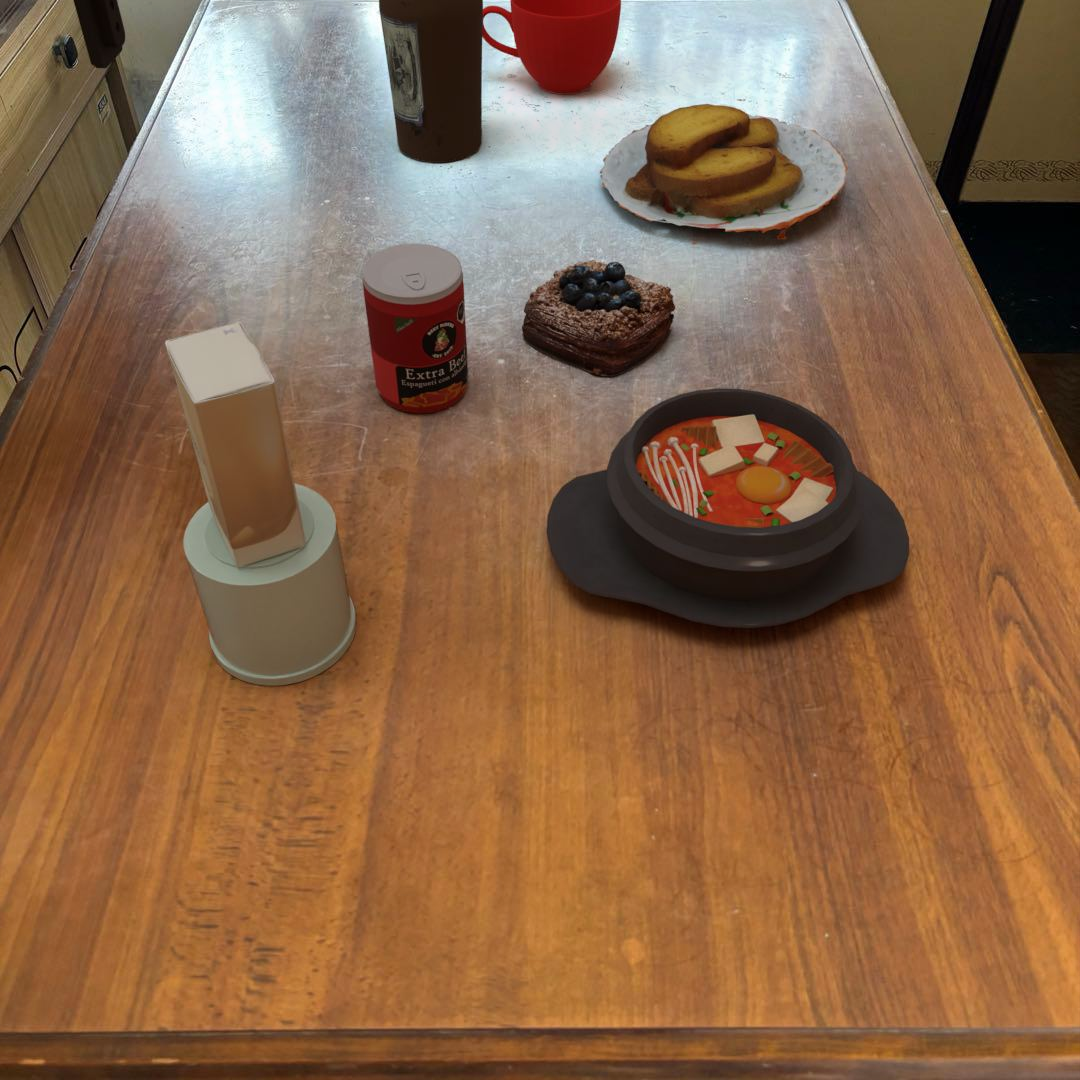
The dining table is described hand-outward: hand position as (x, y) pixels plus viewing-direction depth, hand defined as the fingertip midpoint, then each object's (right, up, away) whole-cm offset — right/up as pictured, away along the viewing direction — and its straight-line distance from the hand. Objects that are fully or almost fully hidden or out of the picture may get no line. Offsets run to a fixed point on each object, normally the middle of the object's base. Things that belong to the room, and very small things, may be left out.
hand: (26, 56), depth 63 cm
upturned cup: (+13, -34, +9) cm, 37 cm away
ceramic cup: (+31, +28, +73) cm, 84 cm away
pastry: (+34, -10, +34) cm, 49 cm away
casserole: (+42, -28, +15) cm, 53 cm away
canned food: (+20, -15, +28) cm, 38 cm away
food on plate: (+49, +9, +53) cm, 73 cm away
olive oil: (+18, +17, +61) cm, 65 cm away
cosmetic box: (+13, -27, +3) cm, 30 cm away
